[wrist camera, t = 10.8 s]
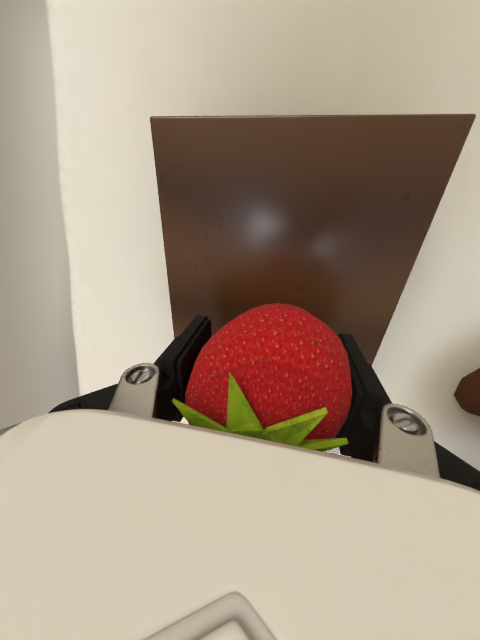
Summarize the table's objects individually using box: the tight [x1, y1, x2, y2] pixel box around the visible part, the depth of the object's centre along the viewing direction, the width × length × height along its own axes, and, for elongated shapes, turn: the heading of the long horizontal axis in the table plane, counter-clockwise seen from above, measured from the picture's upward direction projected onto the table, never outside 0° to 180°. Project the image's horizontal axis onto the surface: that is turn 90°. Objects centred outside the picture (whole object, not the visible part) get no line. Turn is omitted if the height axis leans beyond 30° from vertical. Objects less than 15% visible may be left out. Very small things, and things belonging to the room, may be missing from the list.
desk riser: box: [150, 114, 476, 417], centre depth 15 cm, size 20×13×4 cm, turn 177°
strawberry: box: [172, 303, 352, 452], centre depth 9 cm, size 6×8×10 cm
